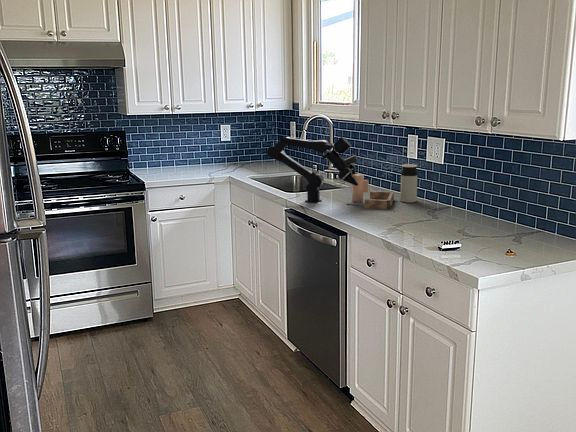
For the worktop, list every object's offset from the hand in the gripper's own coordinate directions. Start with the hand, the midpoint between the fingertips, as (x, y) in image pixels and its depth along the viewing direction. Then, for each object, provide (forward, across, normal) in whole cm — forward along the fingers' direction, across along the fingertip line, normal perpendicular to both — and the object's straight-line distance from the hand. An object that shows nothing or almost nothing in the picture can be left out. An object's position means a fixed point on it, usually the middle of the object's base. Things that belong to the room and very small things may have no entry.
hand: (358, 183), depth 278 cm
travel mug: (+24, +8, -10) cm, 27 cm away
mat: (+7, 0, +7) cm, 10 cm away
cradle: (+14, 0, -1) cm, 14 cm away
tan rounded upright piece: (+7, 0, +6) cm, 9 cm away
